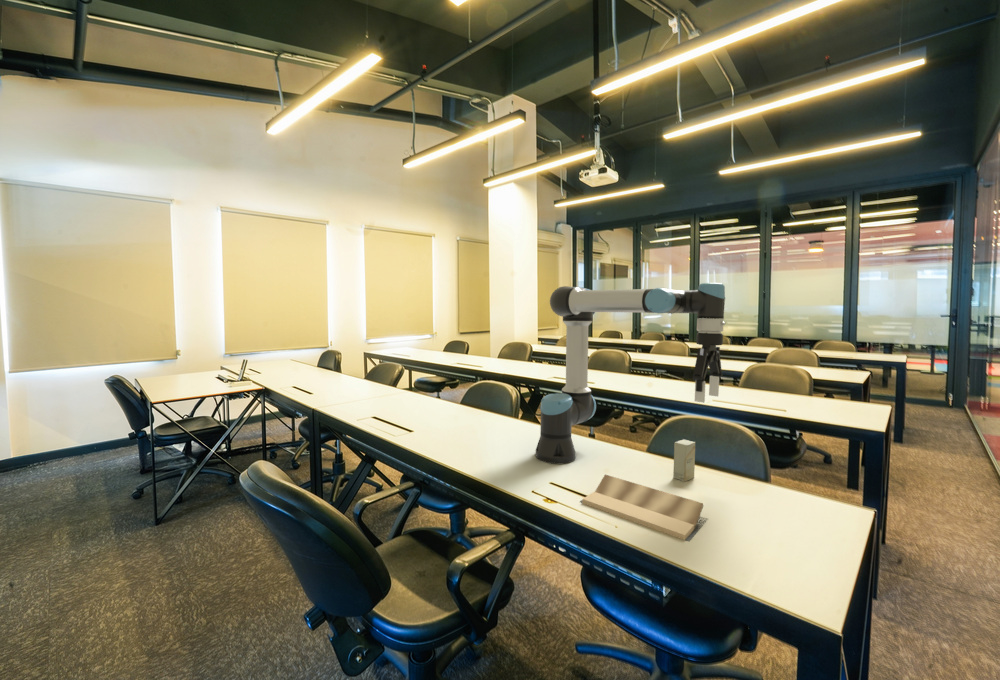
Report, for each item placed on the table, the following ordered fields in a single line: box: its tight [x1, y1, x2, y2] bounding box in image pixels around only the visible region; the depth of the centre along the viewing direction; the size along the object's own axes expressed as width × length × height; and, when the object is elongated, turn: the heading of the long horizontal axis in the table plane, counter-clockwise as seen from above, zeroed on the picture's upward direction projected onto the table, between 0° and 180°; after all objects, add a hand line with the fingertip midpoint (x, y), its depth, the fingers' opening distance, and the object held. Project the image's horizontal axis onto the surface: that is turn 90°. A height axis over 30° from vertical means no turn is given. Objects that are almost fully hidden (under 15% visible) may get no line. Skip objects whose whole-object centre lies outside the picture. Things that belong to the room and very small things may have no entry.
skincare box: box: [672, 438, 696, 482], centre depth 140 cm, size 6×4×12 cm
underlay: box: [579, 491, 709, 542], centre depth 114 cm, size 30×15×2 cm, turn 48°
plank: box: [594, 474, 704, 528], centre depth 116 cm, size 28×7×1 cm
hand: (706, 398), depth 134 cm, fingers open, 13 cm apart
